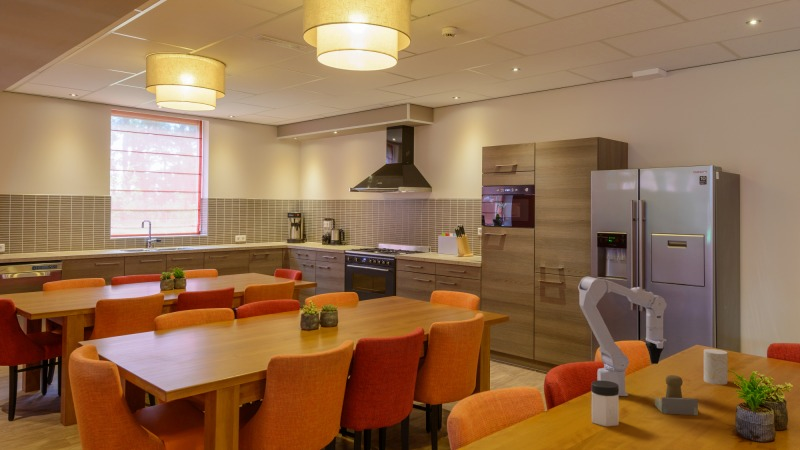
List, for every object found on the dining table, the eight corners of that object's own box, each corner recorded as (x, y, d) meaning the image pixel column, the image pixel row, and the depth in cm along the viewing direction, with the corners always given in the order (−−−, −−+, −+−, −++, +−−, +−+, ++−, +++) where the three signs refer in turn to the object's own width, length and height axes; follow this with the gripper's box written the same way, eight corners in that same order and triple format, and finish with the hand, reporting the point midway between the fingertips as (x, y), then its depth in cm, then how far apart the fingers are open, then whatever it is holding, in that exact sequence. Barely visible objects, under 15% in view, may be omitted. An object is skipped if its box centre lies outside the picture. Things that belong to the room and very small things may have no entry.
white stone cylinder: (705, 383, 214) (705, 352, 214) (702, 377, 222) (702, 348, 222) (729, 385, 211) (729, 354, 211) (725, 379, 219) (725, 350, 219)
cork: (686, 411, 182) (686, 379, 182) (666, 410, 184) (666, 377, 183) (681, 406, 188) (681, 374, 188) (662, 404, 189) (662, 372, 189)
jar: (599, 427, 168) (599, 388, 168) (585, 418, 176) (585, 381, 176) (625, 425, 170) (625, 386, 170) (609, 416, 178) (609, 379, 178)
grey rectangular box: (662, 413, 181) (662, 398, 181) (654, 405, 189) (654, 390, 189) (697, 415, 179) (697, 399, 179) (688, 406, 187) (688, 392, 187)
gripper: (672, 331, 196) (672, 368, 196) (660, 323, 211) (660, 358, 211) (651, 330, 198) (651, 368, 198) (640, 323, 212) (640, 358, 212)
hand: (654, 363), depth 204 cm, fingers closed
